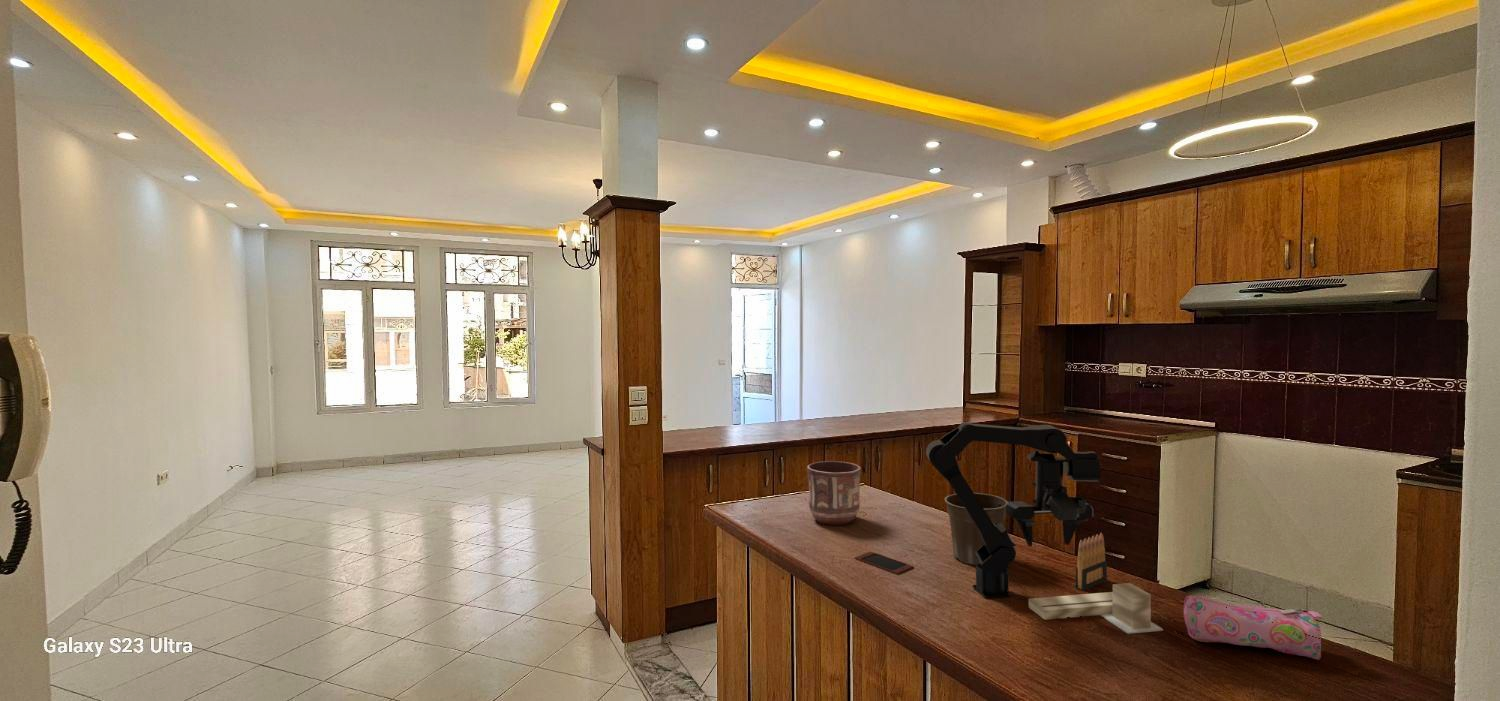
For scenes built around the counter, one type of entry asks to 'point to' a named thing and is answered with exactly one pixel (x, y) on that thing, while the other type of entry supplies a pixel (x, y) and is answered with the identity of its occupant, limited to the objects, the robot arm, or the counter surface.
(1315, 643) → the pencil case
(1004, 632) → the counter surface
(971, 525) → the plant pot
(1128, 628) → the grey end pad
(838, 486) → the pottery
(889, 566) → the smartphone
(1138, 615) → the maple block
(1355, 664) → the counter surface
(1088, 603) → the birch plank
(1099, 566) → the ammunition clip
